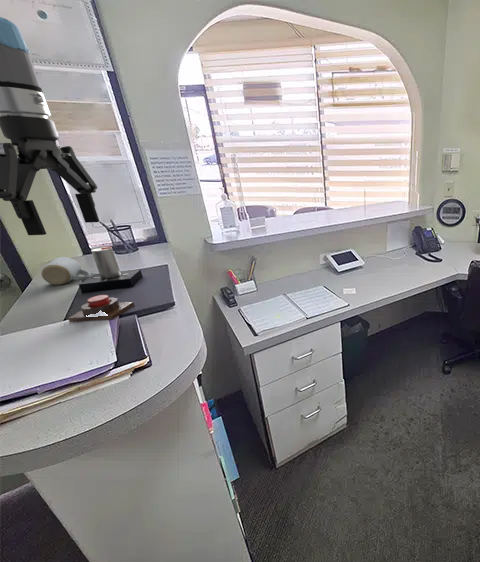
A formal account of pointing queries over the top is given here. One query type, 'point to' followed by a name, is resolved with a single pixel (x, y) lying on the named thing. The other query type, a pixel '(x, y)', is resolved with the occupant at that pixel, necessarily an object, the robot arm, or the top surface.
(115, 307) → the button block
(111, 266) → the silver cylinder
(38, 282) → the top surface
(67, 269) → the ceramic mug
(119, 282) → the panel
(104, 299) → the power button
